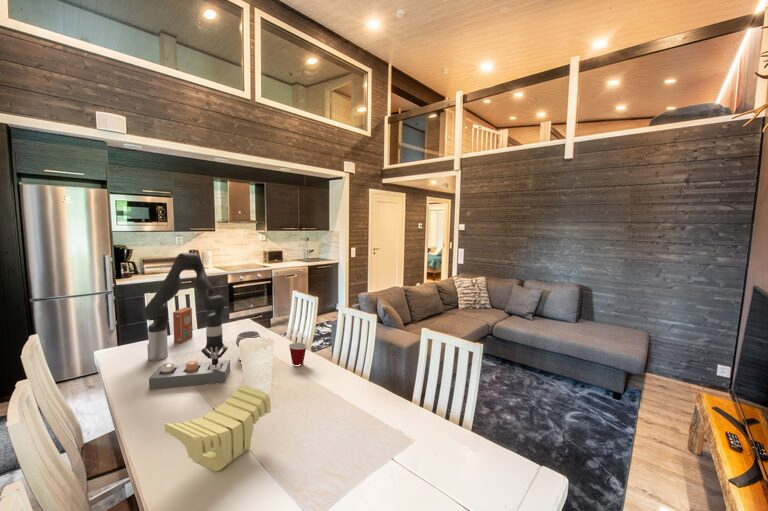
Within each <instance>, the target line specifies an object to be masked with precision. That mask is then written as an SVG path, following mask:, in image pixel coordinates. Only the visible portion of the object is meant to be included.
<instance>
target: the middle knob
mask: <svg viewBox="0 0 768 511" xmlns="http://www.w3.org/2000/svg"><path fill="white" fill-rule="evenodd" d="M198 363H199V361H198V360H197V361H196V360H191V361H188V362H186V363H185V364H186V372H191V371H198Z"/></svg>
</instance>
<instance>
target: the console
mask: <svg viewBox="0 0 768 511" xmlns="http://www.w3.org/2000/svg"><path fill="white" fill-rule="evenodd" d="M218 364H221V369H214V370H209V366H210V365H212V361H204V362H203V361H202V362H198V371H191V372H186V363H180V364H176V363H175V364H174V367H175V372H174V373H168V374H162V370H161V366H162V365H159V367H157V369H155V371H154V372H153V373H152V374H151V376H149V377H148V390H149V391H157V390H166V389H176V388H177V389H178V388H185V387H196V386H197V387H198V386H207V384H208V385H217V384H216V383H218V384H225V383H226V382H227V380H226V379H228V377H229V375H230V372H231V360H230V359H229V360H228V359H227V360H225V359H224V360H218ZM228 374H229V375H228Z"/></svg>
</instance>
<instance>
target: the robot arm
mask: <svg viewBox="0 0 768 511" xmlns="http://www.w3.org/2000/svg"><path fill="white" fill-rule="evenodd" d="M202 261H203V260H202V259H201V257H200V256H199V254H197V253H193V252H181V253H179V254H177V256H176V257H175V259H174V261H173V263H172V266H171V268H170V270H169V272H168V273H167V275H166V277H165V279H164V280H163V281H162V283H161V285H160V286H159V288H158V289H157V291H156V293H155V294H154V296H153V297H152V298H151V300H150V301H149V302H148V303H147V304H146V306H145V307H144V309H143V317H144V319H145V320H147V321H154V322H152V323H151V324H149V325H148V327H147V334H148V336H147V337H148V343H147V360H148V361H161V360H165V359H166V358H168V356H169V350H168V347H169V345H168V323H169V309H168V305H167V304H166V303H168V302H169V301H170V300H172V299H173V298H174V297H176V295H177V294H179V293H178V292H179V291H180V290H181V288H182V285H183V284H182V279H181V276H180V275H181V273H182V272H183V271H184V270H185V271H189V270H190V271H191V270H192V271H194V272H195V274H196V275H195V276H196V277H195V280H194V281H195V282H194V286H195V289H196V290H197V291H198V294H199V295H200V300H201V306H202V308H203V309H204V310H205V311H207V312H209V311H213V312H212V313H209V314H207V316H206V331H205V332H206V333H205V335H206V336H205V337H206V345H205V347H203V348H202V349H201V353H202V354H203V355H204V356H205V357H206V358H207V359H211V362H212V365H213V366H216V365H217V364H218V361H219V359H220V358H222V356H223V355H224V354H225V353H226V352H227V350H228V348H229V347H228V346H225V345H224V341H223V324H222V323H223V321H222V317H223V313H224V310H225V306H226V300H225V298H224V296H222V295H219V294H218V295H214V294H215V288H214V286H213V285H212V283H211V281H210V280H209V278H208V275H207V274H206V270H205V267H204V264H203V262H202ZM221 350H222V351H221ZM220 351H221V352H220Z"/></svg>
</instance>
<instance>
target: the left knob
mask: <svg viewBox="0 0 768 511" xmlns="http://www.w3.org/2000/svg"><path fill="white" fill-rule="evenodd" d="M174 365H175V363H174V362H168V363H164V364H161V365H160V366H161V370H162V374H168V373H174V372H175V367H174Z"/></svg>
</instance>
